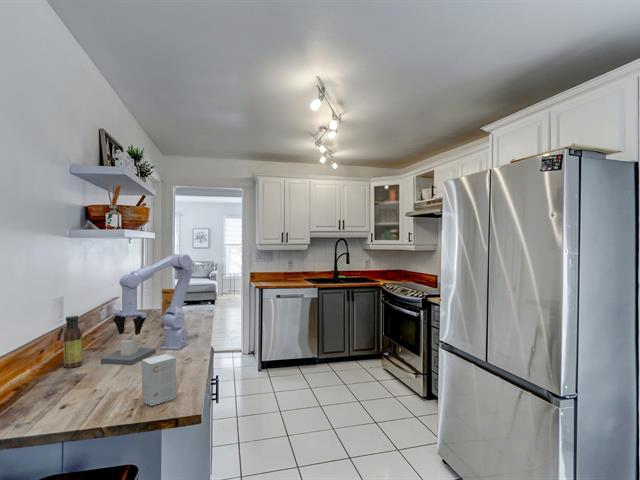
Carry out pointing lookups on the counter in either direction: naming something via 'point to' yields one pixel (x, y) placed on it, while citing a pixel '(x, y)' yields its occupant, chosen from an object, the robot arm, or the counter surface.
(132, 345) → the plug
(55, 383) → the counter surface
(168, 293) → the coffee package
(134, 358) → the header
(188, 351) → the counter surface
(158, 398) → the small box
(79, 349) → the sauce bottle
